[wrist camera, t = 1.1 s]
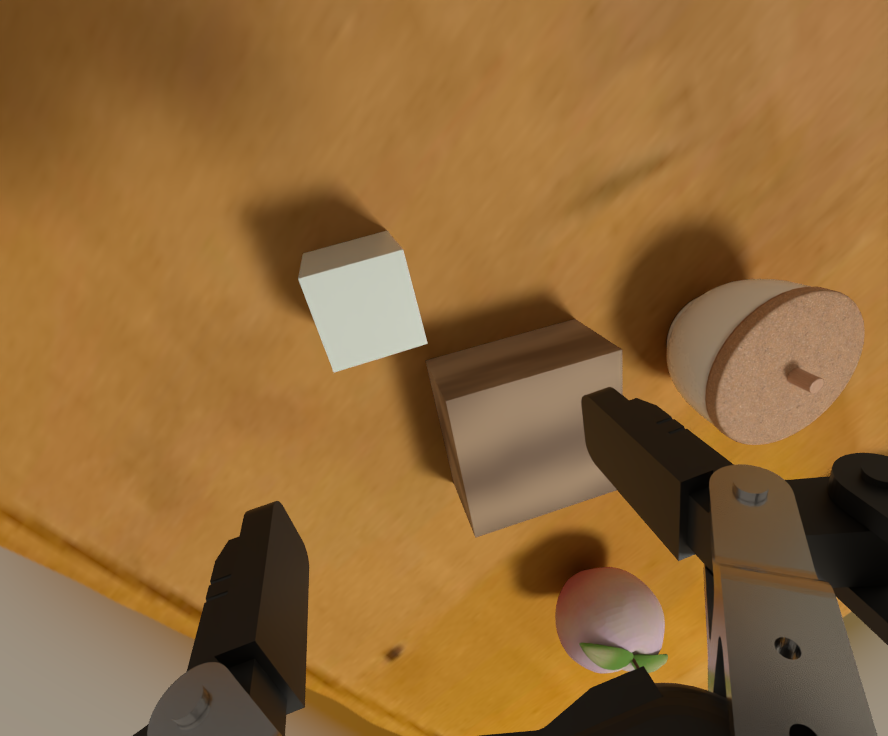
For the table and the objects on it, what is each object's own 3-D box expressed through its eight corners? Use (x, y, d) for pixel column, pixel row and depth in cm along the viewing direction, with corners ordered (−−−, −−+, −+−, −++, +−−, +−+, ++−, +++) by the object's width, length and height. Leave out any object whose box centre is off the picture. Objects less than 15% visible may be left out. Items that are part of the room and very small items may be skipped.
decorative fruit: (637, 540, 44) (715, 636, 35) (604, 600, 47) (668, 703, 38) (554, 536, 41) (617, 641, 32) (524, 601, 44) (575, 713, 35)
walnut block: (424, 359, 31) (445, 401, 26) (573, 317, 32) (622, 349, 27) (452, 481, 36) (475, 537, 31) (580, 440, 37) (622, 488, 32)
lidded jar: (645, 411, 37) (737, 485, 29) (632, 293, 32) (738, 342, 24) (759, 363, 38) (880, 421, 30) (764, 240, 33) (910, 269, 25)
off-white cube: (303, 253, 26) (298, 279, 21) (386, 230, 27) (403, 249, 21) (331, 331, 28) (333, 372, 23) (408, 308, 29) (427, 343, 24)
